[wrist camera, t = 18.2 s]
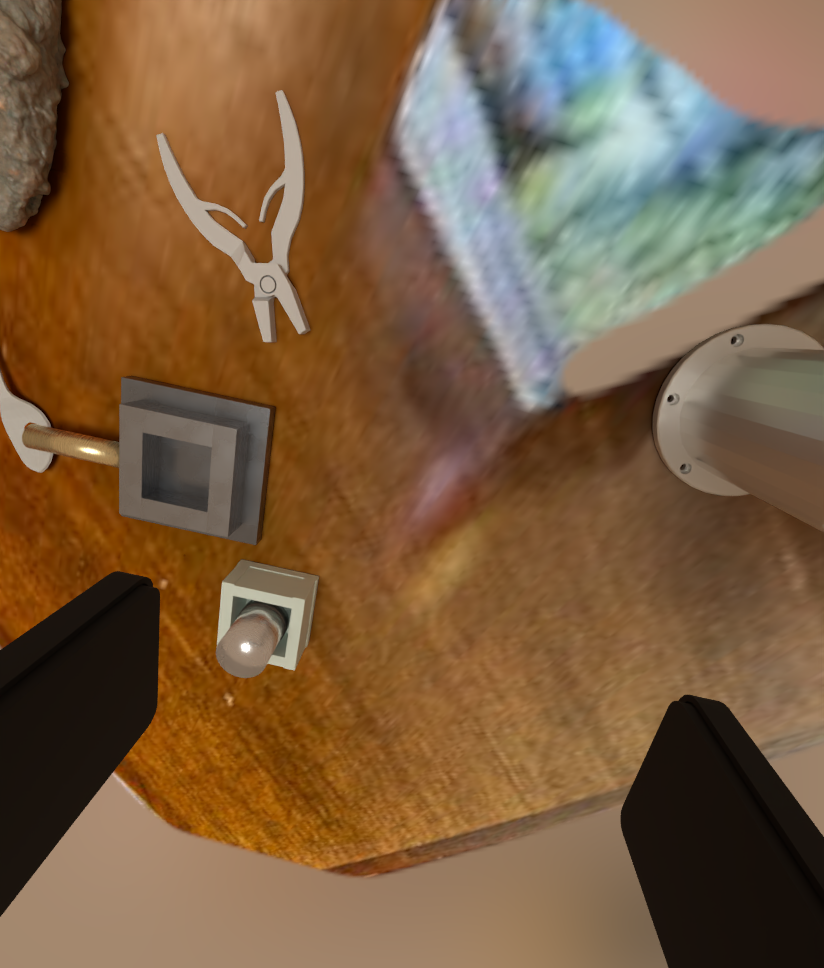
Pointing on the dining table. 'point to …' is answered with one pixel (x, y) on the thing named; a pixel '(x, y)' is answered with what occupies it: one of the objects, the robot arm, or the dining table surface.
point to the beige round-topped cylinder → (252, 638)
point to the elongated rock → (28, 104)
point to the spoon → (22, 426)
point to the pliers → (270, 275)
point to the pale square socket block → (276, 590)
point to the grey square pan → (181, 457)
